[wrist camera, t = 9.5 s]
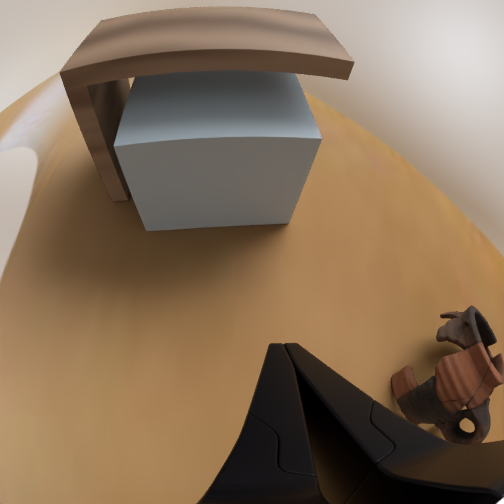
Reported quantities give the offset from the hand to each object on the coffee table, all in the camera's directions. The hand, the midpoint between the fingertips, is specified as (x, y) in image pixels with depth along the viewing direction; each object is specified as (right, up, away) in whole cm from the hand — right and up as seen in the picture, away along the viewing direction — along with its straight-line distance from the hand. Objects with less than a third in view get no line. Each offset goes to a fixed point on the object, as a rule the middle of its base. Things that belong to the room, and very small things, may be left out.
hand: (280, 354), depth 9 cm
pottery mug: (+15, -9, +12) cm, 21 cm away
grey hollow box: (-4, +11, +19) cm, 22 cm away
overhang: (-4, +11, +19) cm, 22 cm away
